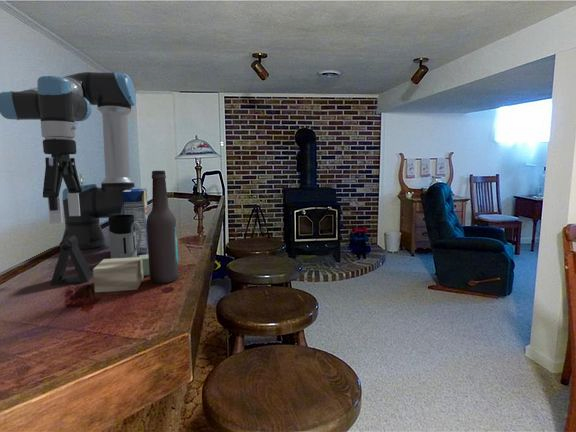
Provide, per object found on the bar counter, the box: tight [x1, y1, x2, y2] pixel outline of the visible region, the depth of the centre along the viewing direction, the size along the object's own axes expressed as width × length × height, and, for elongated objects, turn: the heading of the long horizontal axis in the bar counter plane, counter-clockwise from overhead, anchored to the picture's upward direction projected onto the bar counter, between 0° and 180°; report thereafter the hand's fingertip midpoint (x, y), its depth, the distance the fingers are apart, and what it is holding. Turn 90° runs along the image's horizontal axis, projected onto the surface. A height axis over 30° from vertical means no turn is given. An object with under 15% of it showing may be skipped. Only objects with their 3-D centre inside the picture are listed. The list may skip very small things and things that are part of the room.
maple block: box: [92, 256, 144, 293], centre depth 102 cm, size 10×10×6 cm
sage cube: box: [138, 253, 150, 277], centre depth 113 cm, size 5×5×5 cm
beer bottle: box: [147, 170, 179, 284], centre depth 104 cm, size 8×8×30 cm
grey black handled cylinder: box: [107, 214, 141, 259], centre depth 122 cm, size 9×14×15 cm, turn 55°
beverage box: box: [122, 188, 149, 255], centre depth 138 cm, size 7×11×22 cm, turn 16°
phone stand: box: [50, 236, 93, 286], centre depth 106 cm, size 9×6×12 cm, turn 105°
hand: (66, 219), depth 104 cm, fingers open, 13 cm apart
